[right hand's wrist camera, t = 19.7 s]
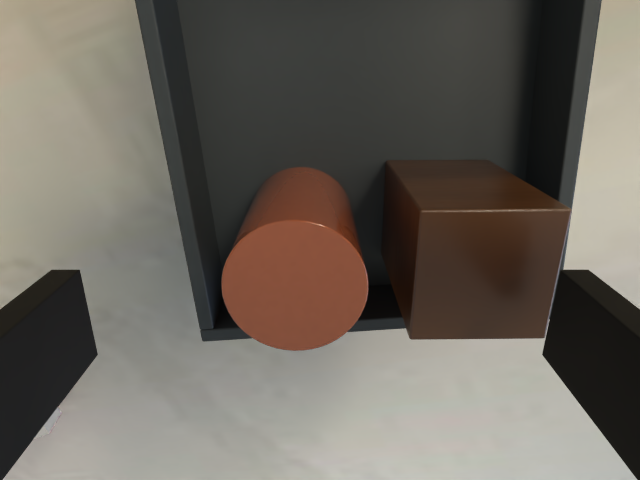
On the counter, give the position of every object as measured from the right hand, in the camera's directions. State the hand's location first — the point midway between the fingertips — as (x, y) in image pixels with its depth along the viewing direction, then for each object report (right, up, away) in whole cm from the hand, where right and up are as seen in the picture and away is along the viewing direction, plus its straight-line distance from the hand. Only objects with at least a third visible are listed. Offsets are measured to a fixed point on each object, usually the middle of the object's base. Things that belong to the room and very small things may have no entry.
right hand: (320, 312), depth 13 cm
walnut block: (+5, +3, +8) cm, 10 cm away
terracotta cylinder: (-1, +3, +8) cm, 9 cm away
